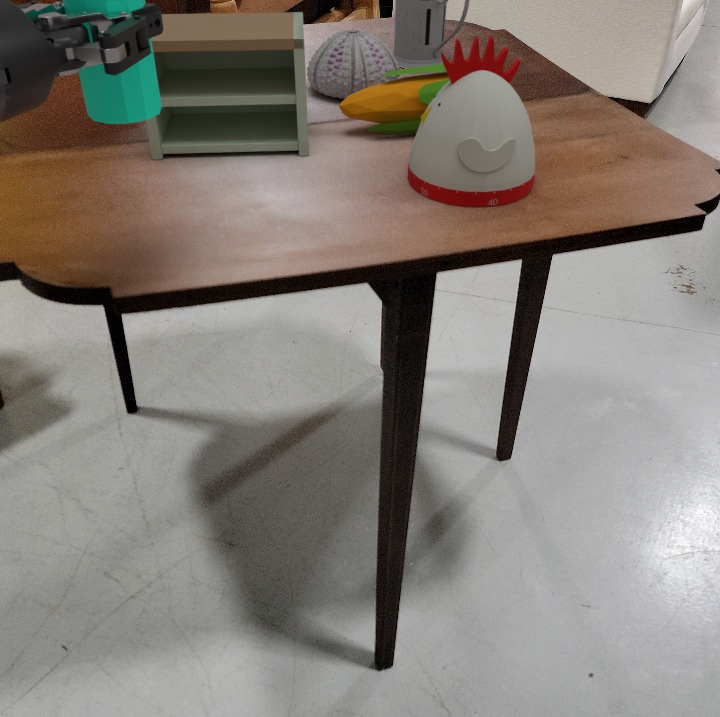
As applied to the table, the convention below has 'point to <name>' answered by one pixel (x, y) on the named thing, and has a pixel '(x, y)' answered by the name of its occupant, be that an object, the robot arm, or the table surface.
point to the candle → (118, 76)
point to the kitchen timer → (474, 135)
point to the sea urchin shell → (350, 64)
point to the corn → (396, 100)
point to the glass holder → (421, 31)
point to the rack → (230, 84)
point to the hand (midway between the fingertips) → (131, 14)
